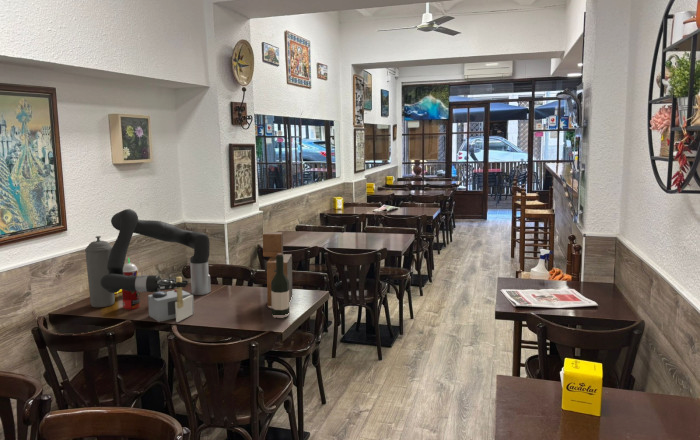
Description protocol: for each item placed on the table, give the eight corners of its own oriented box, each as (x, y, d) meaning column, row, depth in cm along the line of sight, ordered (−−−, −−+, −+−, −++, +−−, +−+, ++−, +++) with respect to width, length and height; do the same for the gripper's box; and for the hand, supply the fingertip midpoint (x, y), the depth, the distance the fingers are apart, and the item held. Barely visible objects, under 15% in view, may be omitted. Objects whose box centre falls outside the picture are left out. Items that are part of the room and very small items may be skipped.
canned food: (134, 310, 254) (133, 288, 252) (119, 309, 255) (118, 287, 254) (143, 305, 261) (142, 284, 260) (129, 304, 263) (127, 283, 261)
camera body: (181, 308, 257) (180, 286, 255) (191, 314, 249) (190, 291, 247) (148, 315, 246) (147, 292, 244) (158, 321, 238) (157, 297, 236)
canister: (122, 301, 267) (118, 234, 262) (104, 309, 255) (100, 239, 249) (100, 299, 270) (96, 233, 265) (82, 307, 258) (77, 237, 252)
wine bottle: (281, 319, 242) (281, 256, 237) (268, 316, 246) (267, 254, 241) (293, 314, 249) (292, 253, 244) (279, 311, 253) (278, 251, 248)
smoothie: (142, 293, 281) (140, 257, 278) (128, 297, 274) (126, 260, 271) (132, 291, 285) (130, 255, 282) (119, 295, 278) (116, 258, 275)
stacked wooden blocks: (265, 296, 277) (264, 232, 272) (292, 297, 277) (291, 232, 272) (259, 308, 258) (257, 238, 253) (288, 308, 258) (287, 239, 253)
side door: (192, 313, 249) (190, 271, 246) (197, 314, 248) (195, 271, 245) (175, 321, 237) (173, 277, 234) (181, 322, 236) (179, 278, 233)
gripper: (141, 279, 227) (181, 279, 228) (153, 271, 241) (190, 271, 241) (142, 296, 229) (182, 296, 229) (154, 287, 242) (191, 287, 243)
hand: (186, 283), depth 235 cm, fingers closed on side door, 2 cm apart
